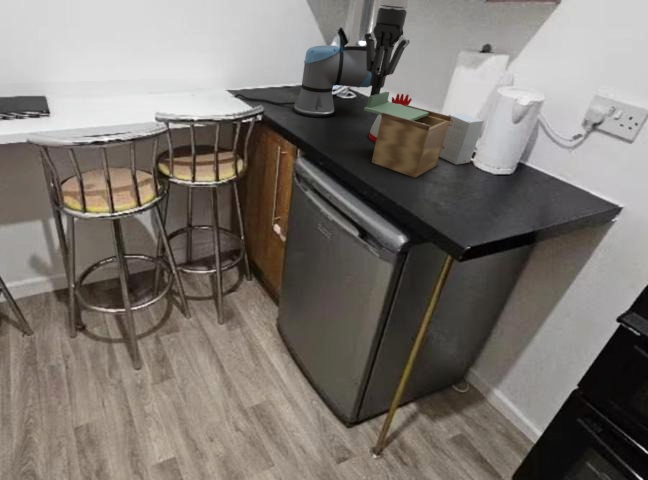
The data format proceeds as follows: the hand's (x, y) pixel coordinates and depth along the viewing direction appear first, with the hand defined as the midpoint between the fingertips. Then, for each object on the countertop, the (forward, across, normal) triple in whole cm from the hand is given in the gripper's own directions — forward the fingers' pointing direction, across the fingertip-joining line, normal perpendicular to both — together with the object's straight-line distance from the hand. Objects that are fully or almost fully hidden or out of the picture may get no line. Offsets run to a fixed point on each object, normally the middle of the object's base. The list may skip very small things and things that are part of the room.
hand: (374, 98), depth 134 cm
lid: (+2, +8, 0) cm, 8 cm away
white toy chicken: (+16, 0, +17) cm, 24 cm away
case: (+16, +14, 0) cm, 21 cm away
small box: (+16, +22, +17) cm, 32 cm away
